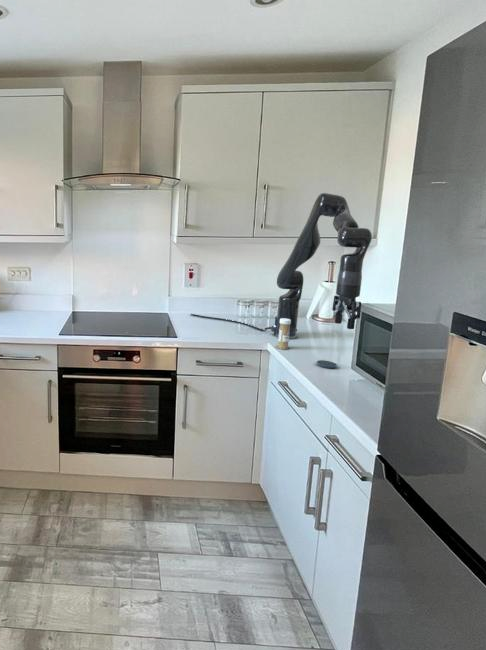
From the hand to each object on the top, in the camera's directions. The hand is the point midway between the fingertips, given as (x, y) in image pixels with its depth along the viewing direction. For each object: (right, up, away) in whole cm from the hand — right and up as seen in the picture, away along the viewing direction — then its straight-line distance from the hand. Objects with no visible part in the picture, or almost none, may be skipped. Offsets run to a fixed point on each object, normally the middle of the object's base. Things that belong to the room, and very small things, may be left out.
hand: (344, 326), depth 155 cm
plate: (0, -17, +11) cm, 20 cm away
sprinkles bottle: (-7, -13, +34) cm, 38 cm away
